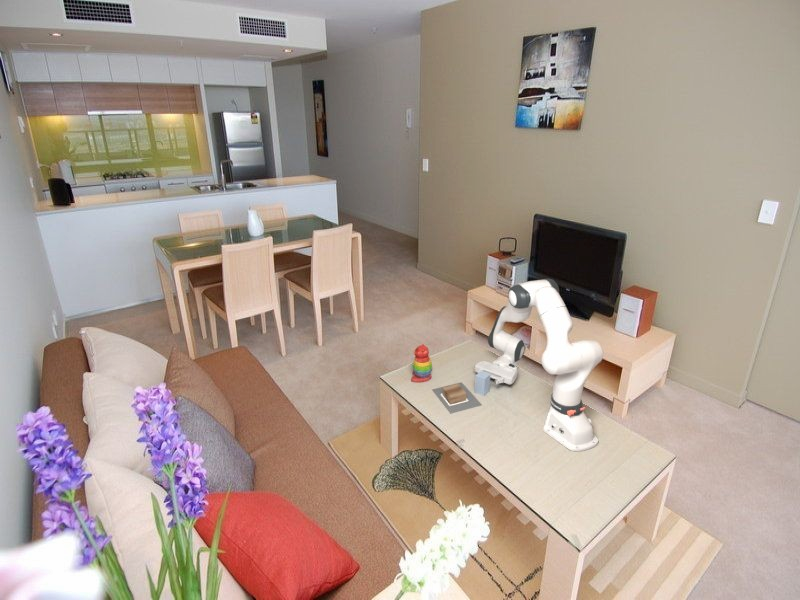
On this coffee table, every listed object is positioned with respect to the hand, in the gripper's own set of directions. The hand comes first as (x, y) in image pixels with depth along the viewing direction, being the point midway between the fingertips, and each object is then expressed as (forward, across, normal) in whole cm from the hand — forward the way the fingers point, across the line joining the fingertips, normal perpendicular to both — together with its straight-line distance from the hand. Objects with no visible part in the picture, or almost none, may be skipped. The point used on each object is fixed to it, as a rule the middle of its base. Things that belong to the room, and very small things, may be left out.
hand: (486, 379), depth 218 cm
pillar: (+4, 0, +5) cm, 7 cm away
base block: (+15, -8, +5) cm, 18 cm away
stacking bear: (+10, -30, +6) cm, 33 cm away
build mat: (+14, -8, +5) cm, 17 cm away
